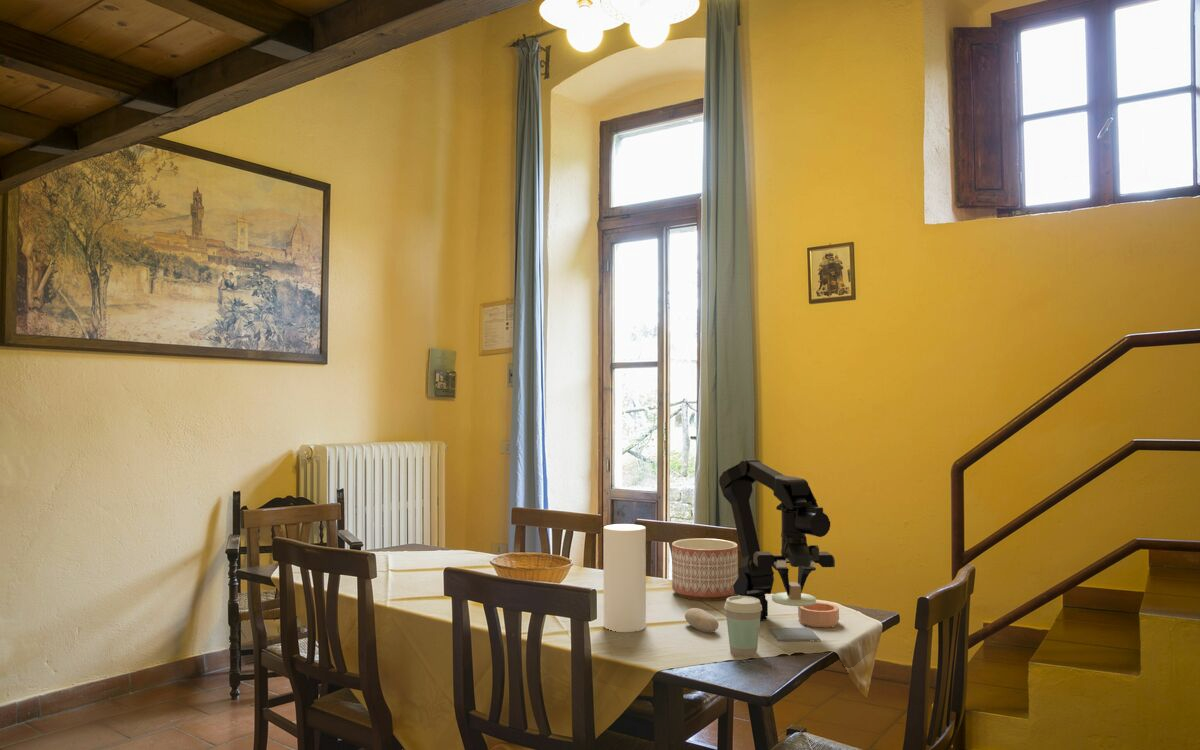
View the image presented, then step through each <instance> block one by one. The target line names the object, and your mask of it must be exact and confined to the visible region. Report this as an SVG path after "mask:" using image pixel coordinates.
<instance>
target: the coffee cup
mask: <svg viewBox="0 0 1200 750" xmlns="http://www.w3.org/2000/svg"><path fill="white" fill-rule="evenodd" d="M725 600H726V601H725V603H724V607H723V609H725V616H726V625H727V634H728V642H729V643H728V644H729V651H730V653H731V655H732V656H736V657H739V658H750V657H754V656H756V655H757V654H758V653H757V652H758V645H759V644H758V642H759V635H760V634H759V633H760V625H761V620H760V616H761V611H762V605H761V603H760V600H759V599H757V598H754V597H749V596H740V595H734V596H733V595H731V596H730V597H729V598H726V599H725Z"/></svg>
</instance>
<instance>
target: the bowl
mask: <svg viewBox="0 0 1200 750" xmlns="http://www.w3.org/2000/svg"><path fill="white" fill-rule="evenodd" d="M797 608H798V609H797V611H798V612H797V614H798V615H797V617H798V623H799V622H800V623H799V624H800V625H803V624H804V625H803V626H805V625H807V626H806V627H809V626H813V627H812V628H816V627H831V628H833V627H832V626H836V625H838V626H839V620H840V608H839V607H838V606H837V605H836V604H831V603H828V602H819V601H816V603H815V604H813V605H809V606H797ZM836 627H837V626H836Z"/></svg>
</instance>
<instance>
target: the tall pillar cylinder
mask: <svg viewBox="0 0 1200 750" xmlns="http://www.w3.org/2000/svg"><path fill="white" fill-rule="evenodd" d="M646 529H647V528H646V526H644V525H640V524H634V523H631V524H630V523H615V524H608V525H604V527H603V628H604V627H605V628H606V629H605V628H604V629H605V630H607V629H609V630H608V631H610V630H612V631H611V632H615V631H616V632H617V633H634V632H635V631H636V632H639V631H643V630H645V629H646V627H647V619H646V618H647V613H646V612H647V604H646V603H647V601H646V599H647V594H646V593H647V591H646V589H647V586H646V585H647V581H646V580H647V579H646V577H647V570H646V569H647V568H646V567H647V565H646V564H647V563H646V562H647V561H646V560H647V558H646V554H647V551H646V550H647V549H646V548H647V547H646V546H647V545H646V541H647V539H646V535H647V533H646V531H647V530H646Z"/></svg>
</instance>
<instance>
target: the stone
mask: <svg viewBox="0 0 1200 750" xmlns="http://www.w3.org/2000/svg"><path fill="white" fill-rule="evenodd" d="M684 619H685V620H686V622H687V623H688V625H690V626H691V627H692V628H694V629H695V630H698V631H699V632H703V633H714V632H715V631H717V630H718V629H719V627H720V626H719V621H718V620H717V618H716V617H714V616H713V615H712V614H711V613H709V612H708V611H706V610H705V609H701V608H699V607H698V608H697V607H692V608H689V609H688V610H686V612H685V614H684Z"/></svg>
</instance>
